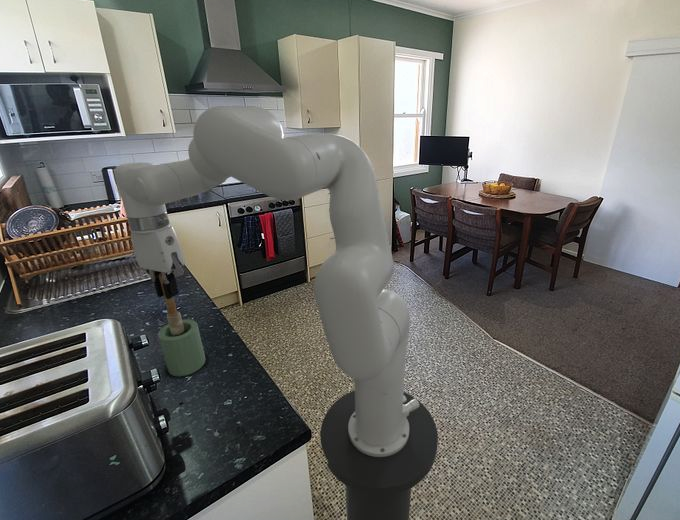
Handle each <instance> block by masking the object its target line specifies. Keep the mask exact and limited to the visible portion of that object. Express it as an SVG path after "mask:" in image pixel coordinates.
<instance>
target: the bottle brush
mask: <svg viewBox="0 0 680 520" xmlns="http://www.w3.org/2000/svg"><path fill="white" fill-rule="evenodd" d="M159 279H160V283H161V287H162V290H163V294H164V296H163V299H164V302H165V306H166V308H167V312H168V313H167V315H166V320H167V324H169V327H170V331H171V334H172V335H178V334H181V333H182V332H184V326H183V322H182V320H183V319H182V315H181V312H180V311H178V310H177V306H176V302H175V299H174V296H173V297H172V298H170V299H166V297H165V293H164V289H163V286H162V284H164V282H163V278H162V274H159Z"/></svg>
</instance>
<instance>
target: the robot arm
mask: <svg viewBox="0 0 680 520" xmlns="http://www.w3.org/2000/svg"><path fill="white" fill-rule="evenodd" d="M192 135H193V138H192V139H191V140H190V142H189V144H188V148H187V149H188V159H184V160H177V161H171V162H165V163H160V164H152V163H149V162H128V163H122V164H118V165H117V166H116V167H115V168H114V171H113V173H114V176H115V181H116V184H117V188H118V191H119V195H120V199H121V201H122V204H123V205H122V206H123V208H124V212H125V215H126V219H127V223H128V226H129V229H130V237H131V243H132V249H133V253H134V258H135V260H136V262H137V265H138V266H139V267H140V269H141V270H143V271H145V272H146V273H147V274H148V275H149V278H150V280H151V282H153V284H154V288H155V292H156V296H157V297H158V298H162V297H164V294H163V290H162V287H161V283H160V279H159V274H162V278H163V282H164V284H162V286H163V289H164V293H165V297H166V299H170V298H172V297H173V298H174V297H175V296H177V295H178V294H179V293H180V292H179V288H178V284H177V279H178V277H180V276H182V275H184V274H185V271H184V269H183V268H182V267H184V266H185V264H186V261H185V257H184V252H183V250H182V247H181V243H180V240H179V238H178V235H177V232H176V231H175V229H174V227H173V226H172V225H171V223H170V220H169V219H170V218H169V215H168V211H167V207H166V204H169V203H174V202H176V201H180V200H183V199H187V198H191V197H195V196H198V195H201V194H204V193H206V192H208V191H210V190H212V189H214V188H216V187H219V186H221V185H222V184H224V183H225V182H226V181H227V180H228V179H229V178H233V179H235V180H236V181H238V182H240V183H242V184H244V185H246V186H248V187H250V188H252V189H254V190H256V191H258V192H260V193H262V194H264V195H266V196H268V197H271V198H273V199H276V200H279V201H295V200H298V199H302V198H304V197H306V196H308V195H310V194H313V193H315V192H318V191H320V190H322V189H327V190H328V192H329V207H328V208H329V210H328V212H329V221H330V225H331V228H332V232H333V236H334V242H335V251H334V253H333V254H332V255H331V256H329V257H328V258H327V259H325V260H324V261H323V263H322V264H321V265H320V267H318V270H317V272H316V275H315V277H314V278H315V279H314V288H313V289H314V298H315V303H316V306H317V309H318V313H319V317H320V320H321V324H322V327H323V331H324V334H325V337H326V341H327V345H328V348H329V351H330V353H331V356H332V357H333V360H334V363H336V365H337V366H338V368H339V369H340V370H341V371H342V372H343V373H344V374H345V375H346V376H348V377H349V378H352V379H353V380H354V390H355V412H354V413H353V414H352V416H351V417H350V420H349V424H348V433H349V437H350V440H351V442H352V443H353V445H354V446H355V447H356V448H357V449H358V450H359V451H361V452H362V453H364V454H367V455H369V456H374V457H386V456H390V455H393V454H395V453H397V452H399V451H400V450H401V449H402V448H403V447H404V446H405V444H406V443H407V440H408V437H409V423H408V420H407V418H406V417H407V416H408V415H409V413H410V412H411V411H414V410H415V409H417V408H419V402H420V401H419V400H418V399H417V398H416V399H417V400H418V401H419V402H418V401H417V400H416V399H413V400H411V401H410V402H408V403H407V404H406V405H404V404H403V403H404V402H406V401H407V399H406V397H405V396H404V395H403V392H405V391H404V388H405V374H406V373H405V372H406V356H407V348H408V342H409V335H410V326H411V315H410V310H409V307H408V304H407V303H406V301H405V299H404V298H403V297H402V296H401V295H400V294H398V293H397V292H395V291H394V290H393V291H392V290H389V289H386V287H387V286H388V284H389V282H390V281H391V279H392V277H393V275H394V269H395V263H394V257H393V253H392V249H391V243H390V238H389V235H388V229H387V225H386V220H385V215H384V211H383V207H382V201H381V197H380V192H379V186H378V181H377V175H376V172H375V169H374V166H373V163H372V162H371V160H370V158H369V156H368V154H367V153H366V152H365V151H364V149H363V148H362V147H361V146H359V144H357V143H356V142H355V141H353V140H351V139H350V138H347V137H346V136H342V135H339V134H335V133H328V132H315V133H307V134H302V135H295V136H294V135H293V136H287V137H284V131H283V126H282V124H281V123H280V120H279V119H278V118H277V117H276V116H275V114H274V113H273V112H271V111H269V110H268V109H266V108H263V107H261V106H255V105H218V106H213V107H210V108H208V109H206V110H204V111H203V112H202V113H200V114H199V116H198V117H197V119H196V121H195V122H194V126H193V132H192Z"/></svg>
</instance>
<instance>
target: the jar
mask: <svg viewBox="0 0 680 520" xmlns="http://www.w3.org/2000/svg"><path fill="white" fill-rule="evenodd" d="M182 322H183V326H184V332H182V333H181V334H178V335H172V334H171V331H170V327H169V324H168V323H167V324H165V325H164V326H162V327H161V328H160V329H159V331H158V333H157V338H158V341H159V345H160V348H161V352H162V355H163V359H164V362H165V365H166V369H167V372H168V374H170V375H171V376H172V377H184V376H185V377H186V376H188V375H189V376H190V375H192V374H194V373H195V372H197V371H199V370H200V369H201V368H202V367H203V366H204V365H205V363H206V355H205V349H204V346H203V343H202V338H201V333H200V329H199V326H198V323H197V321H195V320H193V319H189V318H188V319H182Z"/></svg>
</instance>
